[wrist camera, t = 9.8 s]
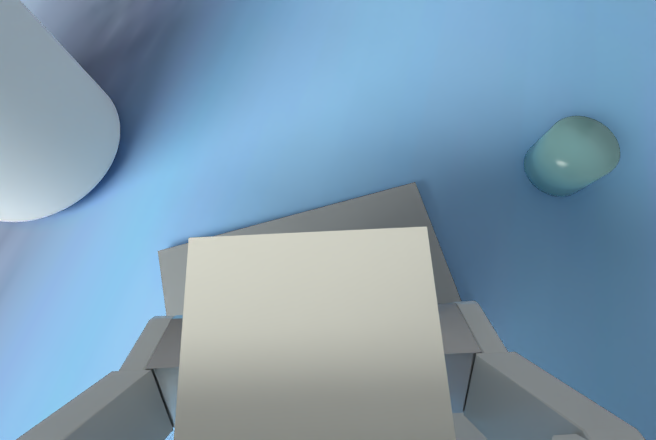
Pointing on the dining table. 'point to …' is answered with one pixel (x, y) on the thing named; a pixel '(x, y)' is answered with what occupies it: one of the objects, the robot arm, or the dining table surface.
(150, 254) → the dining table surface
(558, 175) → the pale green rounded capsule
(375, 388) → the cream white rectangular block
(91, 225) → the dining table surface
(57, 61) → the beverage can
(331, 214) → the mat
